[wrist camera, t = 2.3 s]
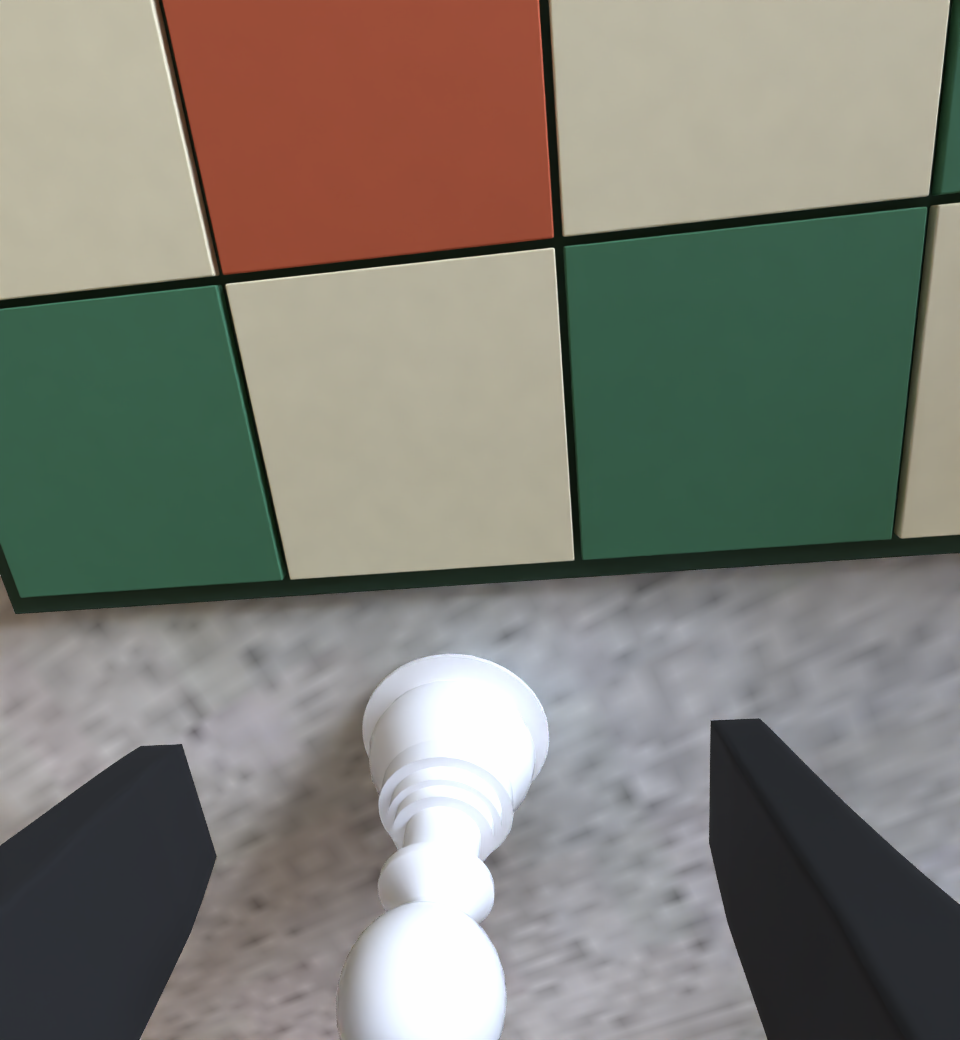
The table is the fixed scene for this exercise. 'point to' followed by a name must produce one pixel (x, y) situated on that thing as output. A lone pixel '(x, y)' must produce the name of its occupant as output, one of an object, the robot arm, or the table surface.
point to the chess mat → (471, 292)
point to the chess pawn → (440, 847)
